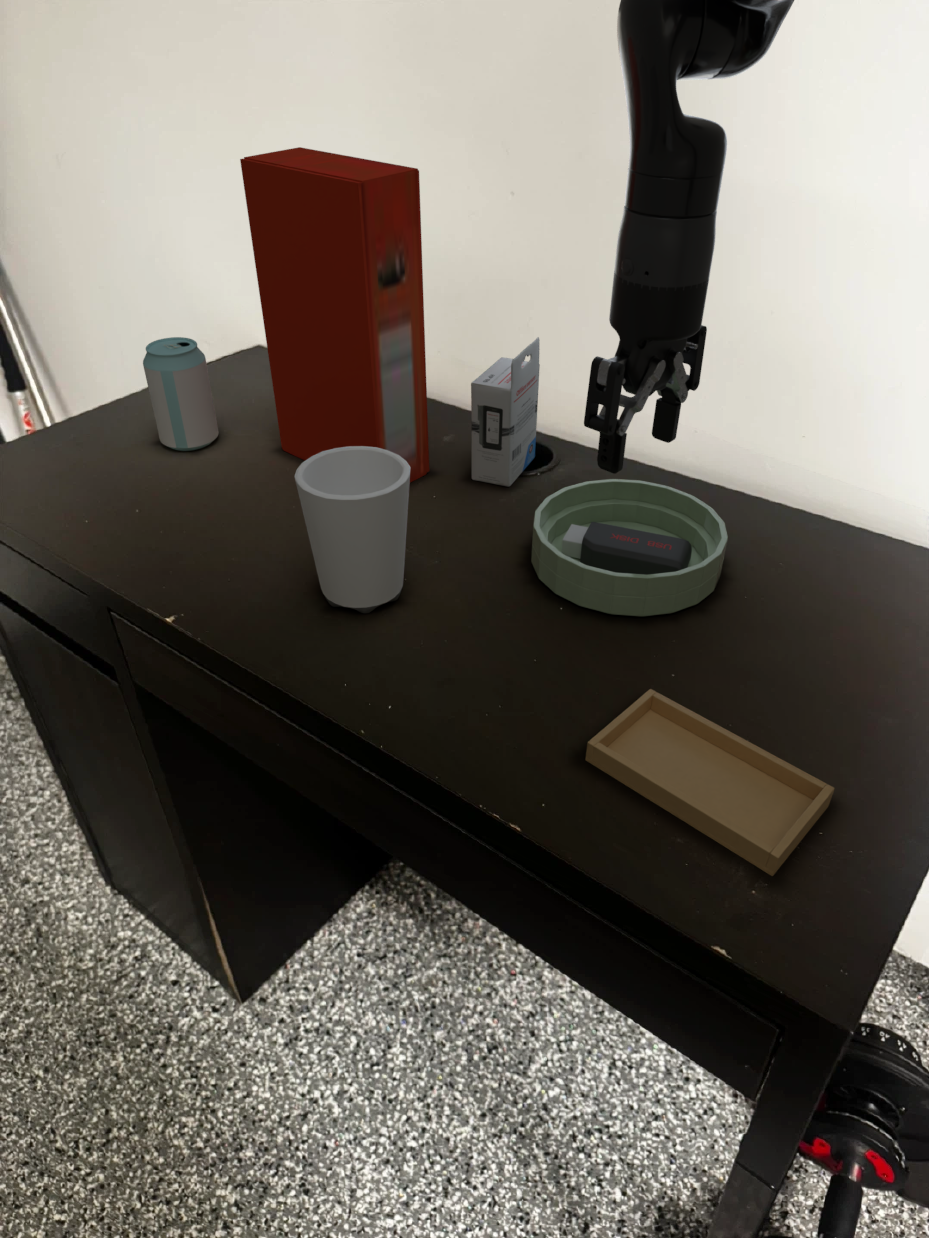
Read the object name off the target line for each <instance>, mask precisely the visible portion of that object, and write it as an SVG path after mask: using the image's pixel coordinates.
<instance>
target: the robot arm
mask: <svg viewBox="0 0 929 1238" xmlns="http://www.w3.org/2000/svg"><path fill="white" fill-rule="evenodd" d="M794 3H795V0H620V2H619V6H618V13H617V18H616V19H617V20H616V40H617V47H618V55H619V62H620V69H621V75H622V81H623V87H624V96H625V105H626V115H627V127H628V136H629V137H628V139H629V140H628V141H629V158H628V167H627V175H626V184H625V193H624V205H623V206H624V207H623V211H622V217H621V221H620V225H619V229H618V234H617V241H616V248H615V249H616V250H615V260H614V270H613V280H612V287H611V288H612V289H611V298H610V307H609V319H608V320H609V324H610V326H611V328H612V329H613V330H614V331H615V332H616V334H617V335H618V338H619V341H618V345H617V348H616V351H615V354H614V356H613V357H610V358H605V357H601V356H595V357H593V359H592V361H591V364H590V371H589V378H588V386H587V394H586V403H585V410H584V416H583V418H584V420H583V426H584V427H585V428H588V429H590V430H593V431H595V432H599V437H598V447H597V457H596V462H597V466H598V468H599V469H600V470H603V471H605V472H608V473H611V474H614V475H615V474H617V473H619V472H621V471H622V470H623V468H624V460H625V451H626V446H627V445H626V444H627V436H628V433H627V430H628V428H629V426H630V424H631V422H632V421H633V418H634V416H635V414H637V413H641V412H642V411H643V409H644V407H645V405H646V403H647V401H648V399H649V397H651V396H652V395H653V394H655V392H656V393H657V395H658V396H659V398H656V400H655V408H654V414H653V420H652V421H653V422H652V429H651V436H652V437H653V438H654V439H656V440H658V441H662V442H664V443H667V444H670V443H671V442H673V441H674V440H676V438H677V434H678V426H679V420H680V415H681V407H682V404H683V403H685V402H686V401H687V398H688V397H689V391H693V392H695V391H697V389H698V388H699V386H700V383H701V375H702V368H703V361H704V354H705V346H706V338H707V332H708V328H707V326H706V325H704V324H703V319H704V313H705V307H706V301H707V300H706V299H707V294H708V288H709V282H710V276H711V270H712V265H713V259H714V251H715V246H716V245H715V244H716V234H717V233H716V230H717V227H716V226H717V214H718V206H719V200H720V194H721V187H722V181H723V175H724V169H725V164H726V159H727V150H728V136H727V133H726V130H725V128H724V127H723V126H722V125H721V124H720V123H717V122H716V121H714V120H711V119H707V118H704V117H699V116H696V115H689V114H686V113H684V112H683V110H682V108H681V107H682V106H681V104H680V100H679V96H678V95H679V94H678V90H677V82H678V81H695V80H696V81H697V80H699V81H701V80H702V81H703V80H723V79H724V80H725V79H730V78H733V77H736V76H739V75H741V74H743V73H745V72H746V71H748V70H750V69H751V68H753V67H754V66H756V65H757V64H758V63H759V62H761V60H762V59H763V58H764V57H765V56H766V55H767V54H768V51H769V50H770V48H771V46H772V44H773V42H774V40H775V38H776V36H777V34H778V32H779V30H780V28H781V26H782V24H783V22H784V21H785V18H786V17H787V15H788V14H789V12H790V10H791V8H792V7H793V4H794ZM684 364H686V365H688V366H689V367H690V368H689V374H687V372H686V368H685V366H684ZM622 389H623V390H624V391H625V392H626V393H628V394H630V395H633V396H629V395H624V394H622ZM600 405H601V406H602V407H601V410H600V411H599V407H600ZM620 407H622V408H623V410H622V412H621V414H620V416H619V409H620ZM598 413H599V414H598ZM618 417H619V418H618Z"/></svg>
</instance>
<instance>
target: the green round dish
mask: <svg viewBox="0 0 929 1238" xmlns="http://www.w3.org/2000/svg"><path fill="white" fill-rule="evenodd" d="M591 522H597V523H603V524H608V525H613V526H619V527H624V528H629V529H634V530H639V531H645V532H650V533H655V534H660V535H665V536H671V537H676V538H680V539H684V540H687V541H689V543H690V544H691V546H692V553H691V559H690V561H689V564H688V567H687V568H685V569H682V570H679V571H676V572H667V573H658V574H649V575H644V574H630V573H616V572H612V571H608V570H604V569H600V568H596V567H592V566H588V565H585V564H583V563H581V562H580V559H579V558H574V557H569V556H566V555H564V554H562V540H563V538H564V536H565V535H566V533H567V531H568V529H569V528H570V526H571V524H574V525H579V526H584V527H589V525H590V524H591ZM531 540H532V542H531V560H530V562H531V564H532V567H533V569H534V571H535V573H536V575H537V578H538V580H540V581H541V582H542V583H543V584H544V586H546V587H547V588H549V589H550V591H552V592H553V593H554V594H555V595H557V596H559V597H561V598H563V599H565V600H567V601H570V602H571V603H572V604H575V605H577V606H579V607H582V608H586V609H590V610H593V611H597V612H600V613H605V614H609V615H616V616H617V615H619V616H631V617H651V616H658V615H659V616H660V615H666V614H667V615H668V614H673V613H676V612H679V611H682V610H686V609H687V608H690V607H693V606H696V605H698V604H699V603H701V602H702V601H703V600H705V598H707V597H708V596H710V595H711V594H712V593H713V592H714V591H715V590H716V589H715V588H716V587H717V584H718V583H719V580H720V577H721V575H722V569H723V566H724V565H723V564H724V559H725V555H726V550H727V547H728V546H727V545H728V540H729V536H728V532H727V527H726V523H725V521H724V520H723V519H722V517H720V515H719V514H718V513H717V512H716V510H715V509H714V508H712V507H711V506H710V505H709V504H707V503H705V502H704V501H702V499H701V500H700V499H699V498H698V497H696V496H694V495H693V494H690V493H687V492H685V491H682V490H680V489H677V488H674V487H671V486H668V485H664V484H660V483H655V482H649V481H646V480H639V479H638V480H637V479H620V478H607V479H599V480H598V479H597V480H596V479H595V480H587V481H582V482H579V483H576V484H572V485H568V486H564V487H562V488H561V489H559V490H557V491H556V492H553V493H552V494H550V495H547V496H546V497H545V498H544V499H543V501H542V502H541V503H540V504H539V505H538V506H537V507H536V509H535V510H534V517H533V525H532V539H531Z"/></svg>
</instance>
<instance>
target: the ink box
mask: <svg viewBox="0 0 929 1238" xmlns="http://www.w3.org/2000/svg"><path fill="white" fill-rule="evenodd" d="M540 350H541V349H540V337H539V336H537V337H536V338H535V339H534V340H533V341H532V342H531V343H529V344H528V345H527V346H526V347H525V348H523V350H522V351H521V352H520V353H519V354H517V355H516V356H515V357H514V358H510V357H499V359H497V360H496V361H495V362H494V363H493V364H492V365H490V366H489V367H488V368H487V369H485V371H484V372H482V373H481V374H480V375H479V376H478V377H476V378H475V379H474V380H473V381H471V383H470V404H471V405H470V408H471V409H470V411H471V412H470V413H471V417H470V418H471V420H470V421H471V422H470V423H471V426H470V427H471V428H470V429H471V431H470V432H471V433H470V434H471V435H470V436H471V437H470V438H471V443H470V445H471V446H470V448H471V451H470V453H471V454H470V455H471V479H472V480H473V481H478V482H482V483H488V484H493V485H498V486H503V487H507V488H508V487H511V486H512V485H513V484H514V482H515V481H516V480H517V479H518V478H519V477H520V475H521V474H522V473H523V472H524V471H525V470H526V469H527V467H529V465H530V464H531V463H532V461H533V460H534V459H535V457H536V446H537V445H536V444H537V443H536V442H537V425H538V423H537V422H538V407H539V406H538V403H539V386H540V368H541V367H540V366H541V365H540ZM526 357H527V358H528V357H529V360H528V361H526Z"/></svg>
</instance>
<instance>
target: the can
mask: <svg viewBox="0 0 929 1238" xmlns="http://www.w3.org/2000/svg"><path fill="white" fill-rule="evenodd" d="M145 352H146V354H145V355H144V358H143V360H142V366H143V370H144V375H145V380H146V384H147V388H148V392H149V393H148V394H149V397H150V402H151V406H152V410H153V415H154V420H155V425H156V429H157V433H158V438H159V441H160V443H161V444H162V445H163V446H166V447H168V448H170V449H172V450H175V451H181V452H189V451H195V450H196V451H197V450H200V449H203V448H206V447H208V446H209V445H211V444H212V443H213V442H214V441H215V440H216V439H217V438H218V437H219V434H220V433H219V426H218V421H217V415H216V409H215V404H214V403H215V402H214V397H213V392H212V386H211V382H210V381H211V380H210V376H209V375H210V374H209V370H208V365H207V359H206V355H205V354H204V352H203V351H202V350H201V349H200V348H199V347H198V342H197V341H196V340H194V339H192V338H190V337H181V336H174V337H165V338H159V339H156V340H154V341H151V342H150V343H148V344H147V345H145Z"/></svg>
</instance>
